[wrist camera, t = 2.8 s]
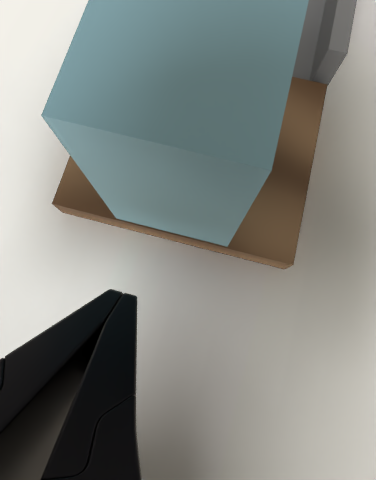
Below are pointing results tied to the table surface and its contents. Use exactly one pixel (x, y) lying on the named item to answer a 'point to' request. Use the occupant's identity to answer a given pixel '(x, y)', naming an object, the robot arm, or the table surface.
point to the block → (177, 106)
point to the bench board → (265, 204)
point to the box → (324, 39)
